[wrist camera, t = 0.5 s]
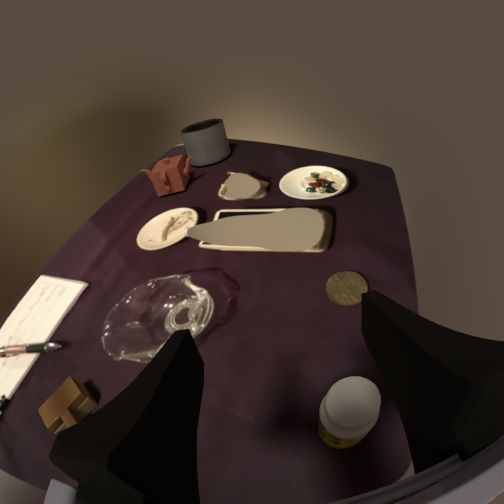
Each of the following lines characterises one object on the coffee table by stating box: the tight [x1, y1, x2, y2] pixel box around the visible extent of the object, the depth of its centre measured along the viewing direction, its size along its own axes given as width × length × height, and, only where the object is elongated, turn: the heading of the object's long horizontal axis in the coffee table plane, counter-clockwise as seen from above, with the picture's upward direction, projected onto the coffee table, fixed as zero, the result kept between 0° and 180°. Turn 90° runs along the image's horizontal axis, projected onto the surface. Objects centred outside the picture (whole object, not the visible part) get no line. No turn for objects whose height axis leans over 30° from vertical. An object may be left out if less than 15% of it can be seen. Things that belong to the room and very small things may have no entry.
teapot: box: [141, 155, 195, 197], centre depth 67 cm, size 12×15×8 cm
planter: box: [181, 119, 230, 167], centre depth 78 cm, size 13×12×11 cm
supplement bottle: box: [318, 376, 381, 449], centre depth 19 cm, size 5×5×8 cm
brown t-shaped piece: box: [38, 376, 98, 435], centre depth 22 cm, size 8×14×3 cm, turn 54°
